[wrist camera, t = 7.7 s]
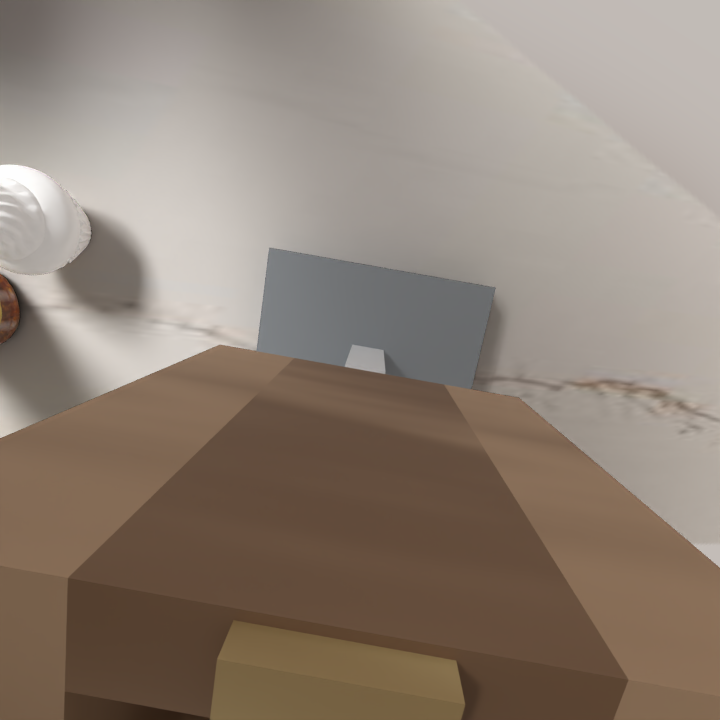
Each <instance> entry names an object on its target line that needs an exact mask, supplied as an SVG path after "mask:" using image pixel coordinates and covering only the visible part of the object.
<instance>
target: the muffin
mask: <svg viewBox="0 0 720 720" xmlns="http://www.w3.org/2000/svg"><path fill="white" fill-rule="evenodd" d="M88 220H89V219H88V217H87V216H86V214H85V213H84V211H83V210H82V209H81V207H80V206H79V204H78V203H77V202H76V200H75V199H74V198H73V197H72V196H71V195H70V193H69V192H68V191H67V190H64V189H63V188H62V186H61V185H60V184H58V183H57V182H56V181H55V180H54V179H52V178H51V177H50V176H48V175H46V174H45V173H43V172H41V171H38V170H36V169H33V168H30V167H26V166H21V165H0V266H1V267H2V268H4V269H6V270H9V271H11V272H14V273H18V274H25V275H42V274H47V273H51V272H53V271H56V270H57V269H59V268H63V267H64V266H65V265H66V264H67V263H71V262H72V261H73V260H74V259H75V258H76V257H77V256H78V255H79V254H80V253H81V252H82V251H83V250H84V249H85V248H86V247H87V246H88V244H89V243H90V241H89V240H90V239H91V236H90V235H91V234H92V232H91V229H92V228H91V227H90V222H89V221H88Z"/></svg>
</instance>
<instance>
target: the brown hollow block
mask: <svg viewBox="0 0 720 720" xmlns="http://www.w3.org/2000/svg"><path fill="white" fill-rule="evenodd" d="M0 720H720V568H719V567H718V566H717V565H716V564H715V563H713V562H712V561H711V560H710V559H709V558H708V557H706V556H705V555H704V554H703V553H702V552H700V551H699V550H698V549H697V548H696V547H695V546H693V545H692V544H691V543H690V542H689V541H688V540H686V539H685V538H684V537H683V536H682V535H680V534H679V533H678V532H677V531H676V530H675V529H673V528H672V527H671V526H670V525H669V524H667V523H666V522H665V521H664V520H663V519H662V518H660V517H659V516H658V515H657V514H656V513H654V512H653V511H652V510H651V509H650V508H649V507H647V506H646V505H645V504H644V503H643V502H641V501H640V500H639V499H638V498H637V497H636V496H634V495H633V494H632V493H631V492H630V491H628V490H627V489H626V488H625V487H624V486H623V485H621V484H620V483H619V482H618V481H617V480H615V479H614V478H613V477H612V476H611V475H610V474H608V473H607V472H606V471H605V470H604V469H603V468H601V467H600V466H599V465H598V464H597V463H595V462H594V461H593V460H592V459H591V458H590V457H588V456H587V455H586V454H585V453H584V452H582V451H581V450H580V449H579V448H578V447H577V446H575V445H574V444H573V443H572V442H571V441H569V440H568V439H567V438H566V437H565V436H564V435H562V434H561V433H560V432H559V431H558V430H556V429H555V428H554V427H553V426H552V425H551V424H549V423H548V422H547V421H546V420H545V419H543V418H542V417H541V416H540V415H539V414H538V413H536V412H535V411H534V410H533V409H532V408H530V407H529V406H528V405H527V404H526V403H525V402H523V401H522V400H521V399H520V398H517V397H512V396H506V395H500V394H495V393H489V392H484V391H478V390H472V389H467V388H461V387H455V386H450V385H444V384H438V383H433V382H427V381H422V380H416V379H410V378H405V377H399V376H393V375H388V374H382V373H376V372H371V371H365V370H360V369H354V368H348V367H343V366H337V365H331V364H326V363H320V362H314V361H309V360H303V359H298V358H292V357H286V356H281V355H275V354H269V353H264V352H258V351H253V350H247V349H241V348H236V347H230V346H224V345H218V346H216V347H213V348H211V349H209V350H206V351H204V352H202V353H199V354H197V355H195V356H192V357H190V358H188V359H185V360H183V361H181V362H178V363H176V364H174V365H171V366H169V367H166V368H164V369H162V370H159V371H157V372H155V373H152V374H150V375H148V376H145V377H143V378H141V379H138V380H136V381H134V382H131V383H129V384H127V385H124V386H122V387H120V388H117V389H115V390H113V391H110V392H108V393H106V394H103V395H101V396H98V397H96V398H94V399H91V400H89V401H87V402H84V403H82V404H80V405H77V406H75V407H73V408H70V409H68V410H66V411H63V412H61V413H59V414H56V415H54V416H52V417H49V418H47V419H45V420H42V421H40V422H38V423H35V424H33V425H31V426H28V427H26V428H23V429H21V430H19V431H16V432H14V433H12V434H9V435H7V436H5V437H2V438H0Z"/></svg>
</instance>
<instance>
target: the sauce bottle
mask: <svg viewBox="0 0 720 720" xmlns="http://www.w3.org/2000/svg"><path fill="white" fill-rule="evenodd" d="M19 313H20V309H19V304H18V299H17V296H16V294H15V292H14V290H13V287H12V286H11V285H10V284H9V282H8V280H7V279H6V278H5V277H4V276H2V275H1V274H0V344H1V343H3V342H6V340H7V339H9V338H10V337H11V336H12V335H13V333H14V332H15V330H16V329H17V327H18V324H19V319H20V317H19V316H20V314H19Z"/></svg>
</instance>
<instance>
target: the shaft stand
mask: <svg viewBox="0 0 720 720" xmlns="http://www.w3.org/2000/svg"><path fill="white" fill-rule="evenodd" d="M494 293H495V287H489V286H483V285H478V284H472V283H466V282H461V281H455V280H449V279H444V278H438V277H432V276H427V275H421V274H416V273H410V272H404V271H399V270H393V269H387V268H382V267H376V266H370V265H365V264H359V263H353V262H348V261H342V260H336V259H331V258H325V257H319V256H314V255H308V254H302V253H297V252H291V251H286V250H280V249H274V248H269V254H268V262H267V270H266V278H265V286H264V295H263V303H262V311H261V319H260V327H259V335H258V344H257V351H258V352H264V353H269V354H275V355H281V356H286V357H292V358H298V359H303V360H309V361H314V362H320V363H326V364H331V365H337V366H343V367H348V368H354V369H360V370H365V371H371V372H376V373H382V374H388V375H393V376H399V377H405V378H410V379H416V380H422V381H427V382H433V383H438V384H444V385H450V386H455V387H461V388H467V389H472V385H473V381H474V376H475V372H476V368H477V364H478V360H479V355H480V351H481V347H482V343H483V339H484V334H485V330H486V326H487V322H488V318H489V313H490V309H491V305H492V301H493V297H494Z"/></svg>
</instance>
